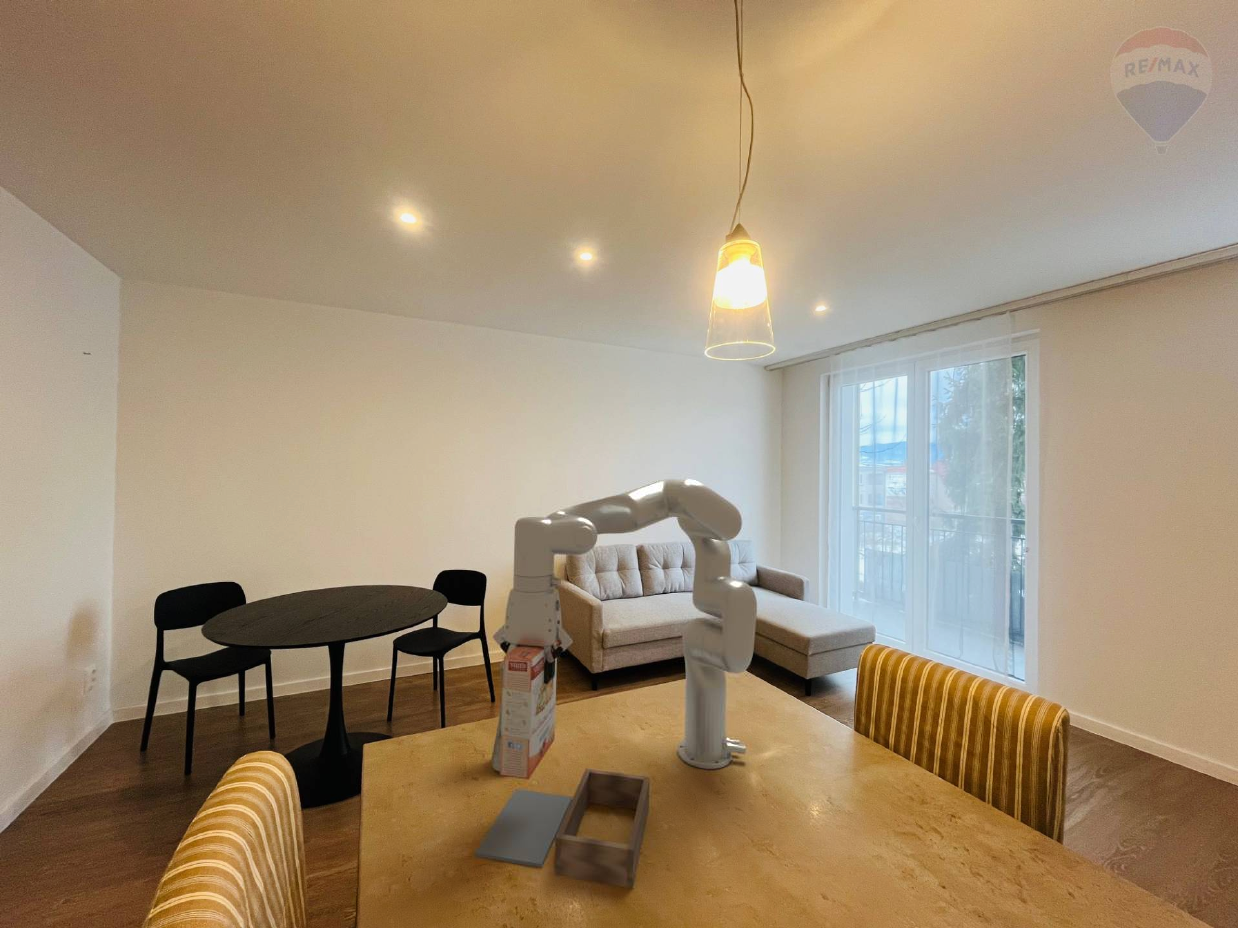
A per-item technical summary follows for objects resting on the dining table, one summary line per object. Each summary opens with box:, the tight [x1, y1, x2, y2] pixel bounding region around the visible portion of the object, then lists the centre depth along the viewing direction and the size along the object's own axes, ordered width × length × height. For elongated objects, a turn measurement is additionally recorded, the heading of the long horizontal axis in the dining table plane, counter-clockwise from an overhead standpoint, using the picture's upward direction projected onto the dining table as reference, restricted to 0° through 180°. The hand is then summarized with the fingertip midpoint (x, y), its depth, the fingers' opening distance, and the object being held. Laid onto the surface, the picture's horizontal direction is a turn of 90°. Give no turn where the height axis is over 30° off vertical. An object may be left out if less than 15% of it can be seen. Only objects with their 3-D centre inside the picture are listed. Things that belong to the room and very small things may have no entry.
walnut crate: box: [553, 768, 650, 890], centre depth 91 cm, size 13×20×6 cm, turn 169°
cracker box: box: [499, 640, 558, 781], centre depth 94 cm, size 14×6×21 cm, turn 168°
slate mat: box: [474, 788, 573, 869], centre depth 93 cm, size 12×18×1 cm, turn 169°
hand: (531, 678), depth 94 cm, fingers closed on cracker box, 5 cm apart
